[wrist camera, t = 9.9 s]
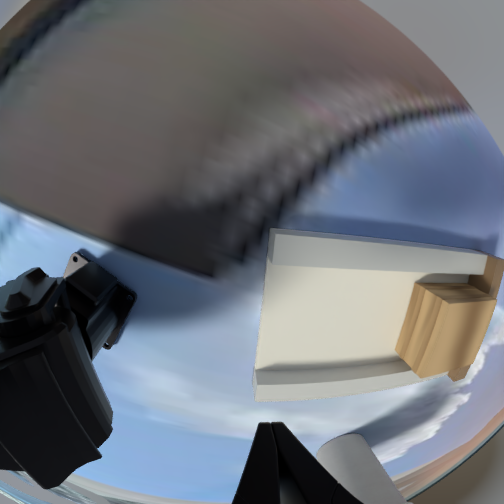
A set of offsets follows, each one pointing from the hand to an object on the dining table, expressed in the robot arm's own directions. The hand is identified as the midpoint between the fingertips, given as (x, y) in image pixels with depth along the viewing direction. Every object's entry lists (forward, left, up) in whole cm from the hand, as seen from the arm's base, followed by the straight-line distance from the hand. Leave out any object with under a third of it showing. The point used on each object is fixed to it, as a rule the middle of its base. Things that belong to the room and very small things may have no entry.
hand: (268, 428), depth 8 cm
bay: (+5, -12, -13) cm, 19 cm away
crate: (+8, -17, -12) cm, 23 cm away
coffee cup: (-12, -23, -13) cm, 29 cm away
